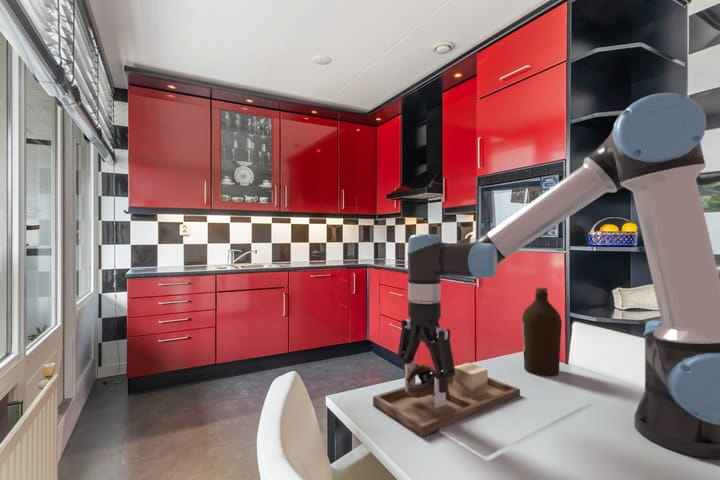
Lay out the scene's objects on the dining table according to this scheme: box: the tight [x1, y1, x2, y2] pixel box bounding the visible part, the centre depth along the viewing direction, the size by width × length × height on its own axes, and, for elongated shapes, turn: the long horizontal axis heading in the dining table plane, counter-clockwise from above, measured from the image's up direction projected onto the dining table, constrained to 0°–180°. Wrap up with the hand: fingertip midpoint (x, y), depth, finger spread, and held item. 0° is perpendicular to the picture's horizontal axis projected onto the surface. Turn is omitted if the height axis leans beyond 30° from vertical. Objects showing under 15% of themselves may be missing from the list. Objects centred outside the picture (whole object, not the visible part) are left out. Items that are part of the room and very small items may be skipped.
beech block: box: [453, 362, 488, 399], centre depth 93 cm, size 6×6×6 cm
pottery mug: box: [406, 363, 450, 400], centre depth 86 cm, size 12×10×8 cm
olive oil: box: [521, 286, 563, 377], centre depth 109 cm, size 11×11×25 cm
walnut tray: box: [372, 376, 521, 438], centre depth 89 cm, size 17×33×2 cm, turn 124°
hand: (424, 397), depth 84 cm, fingers closed on pottery mug, 9 cm apart
